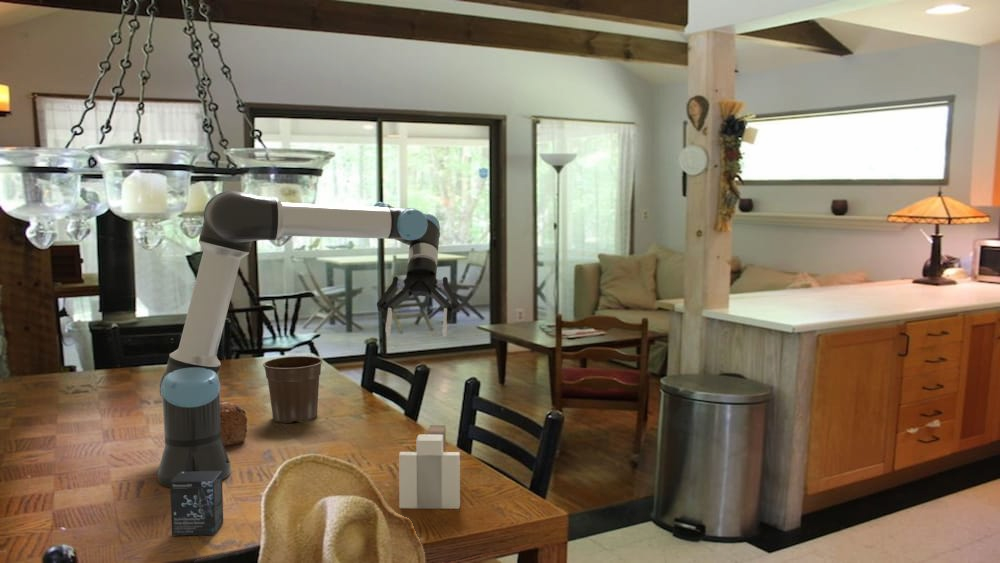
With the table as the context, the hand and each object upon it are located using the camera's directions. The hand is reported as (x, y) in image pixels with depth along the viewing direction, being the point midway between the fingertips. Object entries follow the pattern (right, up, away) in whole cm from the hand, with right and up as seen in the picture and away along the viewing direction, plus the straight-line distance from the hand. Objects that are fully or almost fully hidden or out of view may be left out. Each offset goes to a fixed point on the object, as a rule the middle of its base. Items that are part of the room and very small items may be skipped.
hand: (416, 333), depth 184 cm
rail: (+6, -32, -17) cm, 37 cm away
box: (-36, -34, -40) cm, 64 cm away
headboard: (+6, -33, -26) cm, 42 cm away
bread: (-54, -28, +15) cm, 63 cm away
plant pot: (-38, -26, +34) cm, 57 cm away
